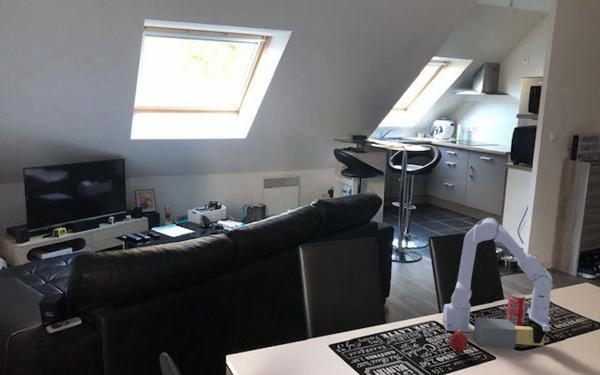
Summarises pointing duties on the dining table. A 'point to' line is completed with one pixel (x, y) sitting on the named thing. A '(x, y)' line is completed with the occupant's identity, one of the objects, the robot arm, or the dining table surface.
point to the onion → (458, 341)
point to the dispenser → (495, 333)
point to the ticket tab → (526, 336)
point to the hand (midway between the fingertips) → (535, 340)
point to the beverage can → (516, 309)
